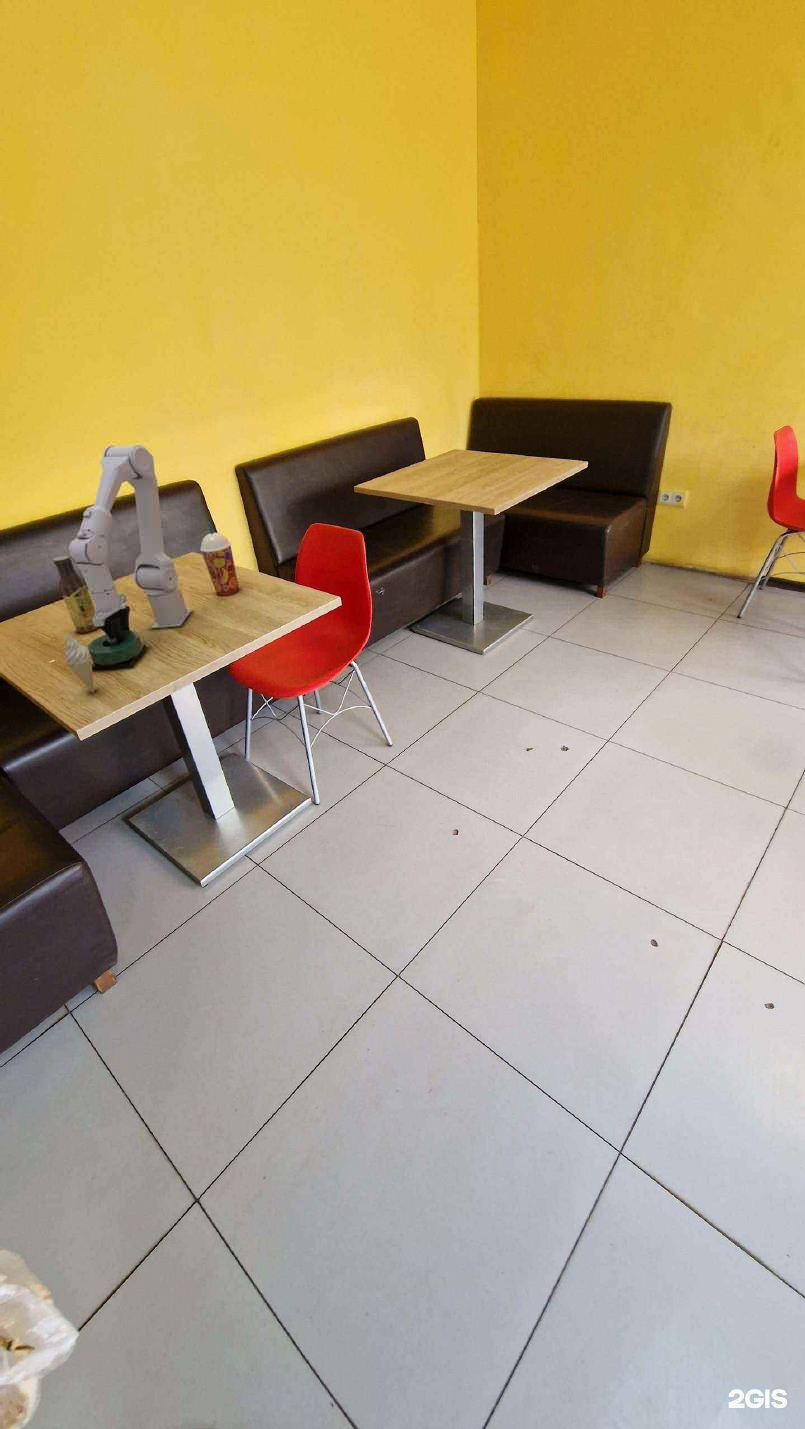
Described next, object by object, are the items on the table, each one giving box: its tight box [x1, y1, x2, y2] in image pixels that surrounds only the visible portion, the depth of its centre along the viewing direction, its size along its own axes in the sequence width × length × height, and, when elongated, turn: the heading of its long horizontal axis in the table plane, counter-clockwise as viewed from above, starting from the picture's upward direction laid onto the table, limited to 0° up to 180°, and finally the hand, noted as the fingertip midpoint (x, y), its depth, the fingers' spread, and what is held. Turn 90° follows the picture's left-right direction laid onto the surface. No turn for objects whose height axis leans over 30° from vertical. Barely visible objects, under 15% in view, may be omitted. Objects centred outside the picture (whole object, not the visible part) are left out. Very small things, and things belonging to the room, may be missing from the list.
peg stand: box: [91, 637, 148, 672], centre depth 152 cm, size 10×10×6 cm
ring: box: [87, 629, 143, 665], centre depth 152 cm, size 12×12×3 cm
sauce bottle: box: [52, 554, 99, 633], centre depth 166 cm, size 6×6×20 cm
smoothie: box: [200, 522, 239, 596], centre depth 178 cm, size 8×8×20 cm
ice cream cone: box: [63, 631, 95, 693], centre depth 137 cm, size 5×5×15 cm
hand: (122, 640), depth 155 cm, fingers closed on ring, 4 cm apart
